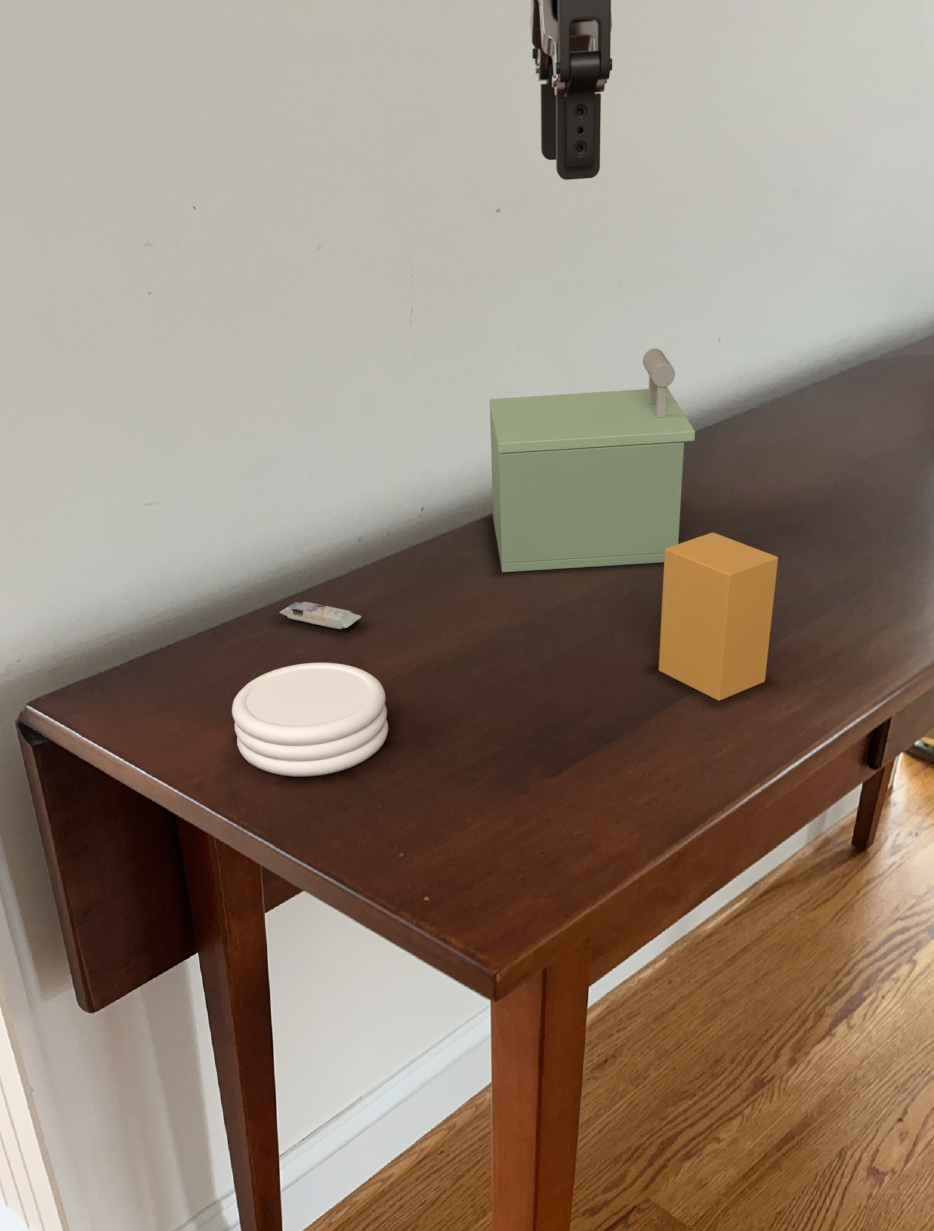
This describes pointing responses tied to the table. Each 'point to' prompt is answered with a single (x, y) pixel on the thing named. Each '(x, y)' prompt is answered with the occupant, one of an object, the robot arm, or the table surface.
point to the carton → (716, 614)
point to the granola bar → (320, 615)
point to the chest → (586, 505)
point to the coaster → (310, 719)
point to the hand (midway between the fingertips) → (568, 167)
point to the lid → (594, 416)
